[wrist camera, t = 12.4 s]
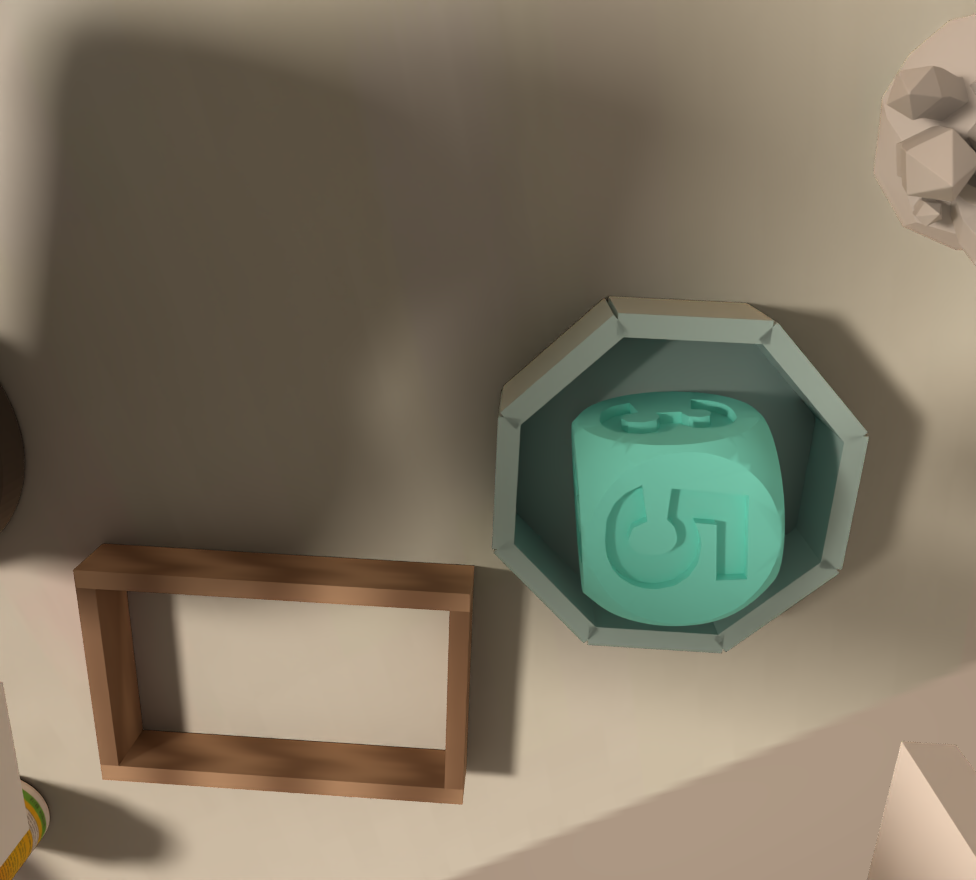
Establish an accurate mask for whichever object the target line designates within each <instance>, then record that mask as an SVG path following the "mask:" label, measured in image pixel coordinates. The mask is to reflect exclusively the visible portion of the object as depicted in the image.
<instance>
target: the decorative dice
mask: <svg viewBox="0 0 976 880" xmlns="http://www.w3.org/2000/svg"><path fill="white" fill-rule="evenodd" d="M571 441H572V467H573V486H574V503H575V518H576V532H577V545H578V557H579V568H580V577H581V586H582V591H583V593H584V594H586V595H587V596H588V597H589V598H591V599H592V600H593V601H594V602H596V603H597V604H598V605H600V606H601V607H602V608H604V609H605V610H607V611H609V612H611V613H613V614H615V615H617V616H620V617H623V618H626V619H629V620H632V621H636V622H640V623H646V624H652V625H661V626H689V625H698V624H705V623H709V622H714V621H717V620H720V619H723V618H726V617H729V616H731V615H733V614H735V613H737V612H738V611H740V610H742V609H743V608H745V607H746V606H748V605H749V604H750V603H752V602H753V601H754V600H756V599H757V598H758V597H759V596H760V595H761V594H762V593H763V592H764V591H765V590H766V589H767V588H768V587H769V586H770V585H771V584H772V582H773V581H774V580H775V579H776V577H777V575H778V573H779V570H780V566H781V562H782V557H783V549H784V537H785V508H784V494H783V485H782V477H781V470H780V465H779V459H778V455H777V451H776V447H775V443H774V440H773V437H772V434H771V431H770V429H769V426H768V424H767V422H766V420H765V419H764V417H763V416H762V415H761V414H760V413H759V412H758V411H757V410H756V409H755V408H753V407H752V406H750V405H749V404H747V403H745V402H742V401H740V400H737V399H733V398H730V397H725V396H720V395H715V394H708V393H698V392H677V391H671V392H649V393H639V394H631V395H625V396H620V397H615V398H611V399H608V400H604V401H601V402H598V403H596V404H594V405H591V406H590V407H588V408H586V409H585V410H583V411H582V412H581V413H580V414H579V415H578V417H577V418H576V419H575V420H574V421H573V422H572V425H571Z"/></svg>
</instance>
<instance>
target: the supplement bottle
mask: <svg viewBox="0 0 976 880" xmlns="http://www.w3.org/2000/svg"><path fill="white" fill-rule="evenodd" d="M20 781H21V786H22V792H23V797H24V803H25V808H26V814H27V819H28V825H29V830H28V831H27V833H26V834H25V835H24V837H23V838H22V839H21V841H20V842H19V843H18V845H17V846H16V847H15V849H14V850H13V851H12V852H11V854H10V855H9V856H8V858H7V859H6V860H5V862H4V863H3V864H2V866H1V867H0V880H12V879H13V877H14V876H15V874H16V873H17V872H18V870H19V869H20V867H21V866H22V865H23V863H24V862H25V861H26V859H27V858H28V856H29V855H30V854H31V852H32V851H33V850H34V849H35V847H36V846H37V844H38V843H39V842H40V840H41V839H42V837H43V836H44V834H45V833H46V831H47V829H48V826H49V822H50V814H49V810H48V806H47V804H46V802H45V800H44V799H43V797H42V796H41V795H40V794H39V793H38V792H37V791H36V790H35V789H34V788H33V787H32V786H30V785H29V784H27V783H26V782H24V781H22V780H20Z"/></svg>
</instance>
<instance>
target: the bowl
mask: <svg viewBox="0 0 976 880" xmlns="http://www.w3.org/2000/svg"><path fill="white" fill-rule="evenodd" d="M671 391H677V392H698V393H708V394H715V395H720V396H725V397H730V398H733V399H737V400H740V401H742V402H745V403H747V404H749V405H750V406H752V407H753V408H755V409H756V410H757V411H758V412H759V413H760V414H761V415H762V416H763V417H764V419H765V420H766V422H767V424H768V426H769V429H770V431H771V434H772V437H773V440H774V443H775V447H776V451H777V455H778V459H779V465H780V470H781V477H782V485H783V494H784V508H785V537H784V549H783V557H782V562H781V566H780V570H779V573H778V575H777V577H776V579H775V580H774V581H773V582H772V584H771V585H770V586H769V587H768V588H767V589H766V590H765V591H764V592H763V593H762V594H761V595H760V596H759V597H758V598H757V599H756V600H754V601H753V602H752V603H750V604H749V605H748V606H746V607H745V608H743V609H742V610H740V611H738V612H737V613H735V614H733V615H731V616H729V617H726V618H723V619H720V620H717V621H714V622H709V623H705V624H698V625H689V626H661V625H652V624H646V623H640V622H636V621H632V620H629V619H626V618H623V617H620V616H617V615H615V614H613V613H611V612H609V611H607V610H605V609H604V608H602V607H601V606H600V605H598V604H597V603H596V602H594V601H593V600H592V599H591V598H589V597H588V596H587V595H586V594H584V593H583V591H582V586H581V577H580V568H579V557H578V545H577V532H576V518H575V503H574V486H573V467H572V441H571V425H572V422H573V421H574V420H575V419H576V418H577V417H578V415H579V414H580V413H581V412H582V411H583V410H585V409H586V408H588V407H590V406H591V405H594V404H596V403H598V402H601V401H604V400H608V399H611V398H615V397H620V396H625V395H631V394H639V393H649V392H671ZM867 433H868V432H867V431H866V430H865V428H864V427H863V426H862V425H861V423H860V422H859V421H858V420H857V419H856V417H855V416H854V415H853V414H852V412H851V411H850V410H849V409H848V408H847V406H846V405H845V404H844V403H843V401H842V400H841V399H840V398H839V397H838V395H837V394H836V393H835V392H834V390H833V389H832V388H831V387H830V386H829V384H828V383H827V382H826V381H825V380H824V378H823V377H822V376H821V375H820V373H819V372H818V371H817V370H816V369H815V367H814V366H813V365H812V364H811V362H810V361H809V360H808V359H807V358H806V356H805V355H804V354H803V353H802V351H801V350H800V349H799V348H798V347H797V345H796V344H795V343H794V342H793V340H792V339H791V338H790V337H789V336H788V334H787V333H786V332H785V331H784V329H783V328H782V327H781V326H780V325H779V323H777V322H776V321H774V320H773V319H771V318H770V317H768V316H767V315H765V314H764V313H762V312H761V311H759V310H757V309H756V308H754V307H753V306H751V305H749V304H747V303H739V302H718V301H697V300H676V299H656V298H635V297H614V296H609V297H608V301H607V300H606V299H605V298H604V299H602V300H601V301H600V302H599V303H598V304H597V305H596V306H594V307H593V308H592V309H591V310H590V311H589V312H588V313H586V314H585V315H584V316H583V317H582V318H581V319H580V320H578V321H577V322H576V323H575V324H574V325H573V326H572V327H570V328H569V329H568V330H567V331H566V332H565V333H564V334H562V335H561V336H560V337H559V338H558V339H557V340H556V341H554V342H553V343H552V344H551V345H550V346H549V347H548V348H546V349H545V350H544V351H543V352H542V353H541V354H540V355H538V356H537V357H536V358H535V359H534V360H533V361H532V362H530V363H529V364H528V365H527V366H526V367H525V368H524V369H522V370H521V371H520V372H519V373H518V374H517V375H516V376H514V377H513V378H512V379H511V380H510V381H509V382H508V383H506V384H505V385H504V386H503V390H501V398H500V406H499V414H498V430H497V451H496V473H495V494H494V516H493V537H492V549H494V554H495V555H496V556H497V557H498V558H499V559H500V560H501V561H502V562H503V563H504V564H505V565H506V566H507V567H508V568H509V569H510V570H511V571H512V572H513V573H514V574H515V575H516V576H517V577H518V578H519V579H520V580H521V581H522V582H523V583H524V584H525V585H526V586H527V587H528V588H529V589H530V590H531V591H532V592H533V593H534V594H535V595H536V596H537V597H538V598H539V599H540V600H541V601H542V602H543V603H544V604H545V605H546V606H547V607H548V608H549V609H550V610H551V611H552V612H553V613H554V614H555V615H556V616H557V617H558V618H559V619H560V620H561V621H562V622H563V623H564V624H565V625H566V626H567V627H568V628H569V629H570V630H571V631H572V632H573V633H574V634H575V635H576V636H577V637H578V638H579V639H580V640H581V641H582V642H583V643H585V642H586V641H587V645H597V646H613V647H629V648H645V649H661V650H677V651H693V652H709V653H722V649H724V650H725V651H726V652H727V651H728V650H730V649H731V648H733V647H734V646H736V645H737V644H738V643H740V642H741V641H743V640H744V639H746V638H747V637H749V636H750V635H751V634H753V633H754V632H756V631H757V630H759V629H760V628H761V627H763V626H764V625H766V624H767V623H769V622H770V621H771V620H773V619H774V618H776V617H777V616H779V615H780V614H782V613H783V612H784V611H786V610H787V609H789V608H790V607H792V606H793V605H794V604H796V603H797V602H799V601H800V600H802V599H803V598H804V597H806V596H807V595H809V594H810V593H812V592H813V591H815V590H816V589H817V588H819V587H820V586H822V585H823V584H825V583H826V582H827V581H829V580H830V579H832V578H833V577H835V576H836V575H837V574H839V572H838V571H837V569H841V570H842V567H843V562H844V557H845V552H846V548H847V543H848V538H849V533H850V528H851V523H852V518H853V513H854V508H855V503H856V499H857V494H858V489H859V484H860V479H861V474H862V469H863V464H864V459H865V454H866V450H867V445H868V440H869V436H867V435H866V434H867Z"/></svg>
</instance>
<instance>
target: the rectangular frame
mask: <svg viewBox="0 0 976 880" xmlns="http://www.w3.org/2000/svg"><path fill="white" fill-rule="evenodd" d="M73 572H74V580H75V587H76V594H77V601H78V608H79V615H80V622H81V629H82V636H83V643H84V651H85V658H86V665H87V672H88V679H89V686H90V693H91V700H92V707H93V714H94V722H95V729H96V736H97V743H98V750H99V757H100V764H101V771H102V778H103V780H118V781H132V782H146V783H161V784H175V785H189V786H204V787H218V788H232V789H247V790H261V791H276V792H290V793H304V794H319V795H333V796H347V797H362V798H376V799H390V800H405V801H419V802H433V803H448V804H462V803H463V794H464V784H465V775H466V765H467V739H468V714H469V688H470V662H471V637H472V611H473V586H474V566H470V565H453V564H436V563H420V562H403V561H386V560H369V559H353V558H336V557H319V556H302V555H286V554H269V553H252V552H235V551H219V550H202V549H185V548H168V547H151V546H135V545H118V544H102V545H101V546H100V547H99V548H97V549H96V550H95V551H94V552H93V553H92V554H91V555H90V556H88V557H87V558H86V559H85V560H84V561H83V562H82V563H81V564H79V565H78V566H77V567H76V568H75V569H74V570H73ZM127 591H137V592H153V593H169V594H185V595H202V596H218V597H234V598H250V599H266V600H283V601H299V602H315V603H331V604H348V605H364V606H380V607H396V608H413V609H429V610H445V611H450V615H449V650H448V685H447V720H446V750H433V749H418V748H403V747H388V746H374V745H359V744H344V743H329V742H314V741H299V740H285V739H270V738H255V737H240V736H225V735H210V734H196V733H181V732H166V731H151V730H143V725H142V717H141V708H140V700H139V691H138V683H137V674H136V666H135V658H134V649H133V641H132V632H131V624H130V615H129V607H128V598H127Z"/></svg>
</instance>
